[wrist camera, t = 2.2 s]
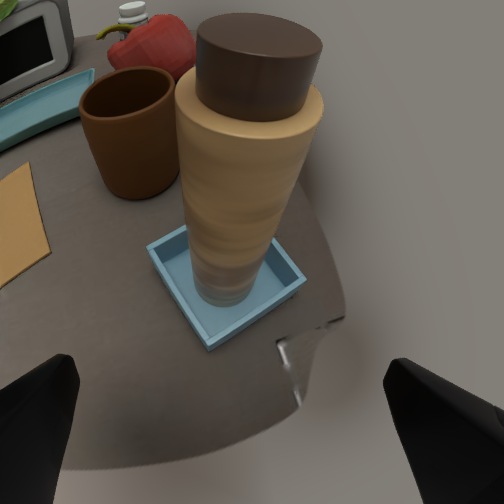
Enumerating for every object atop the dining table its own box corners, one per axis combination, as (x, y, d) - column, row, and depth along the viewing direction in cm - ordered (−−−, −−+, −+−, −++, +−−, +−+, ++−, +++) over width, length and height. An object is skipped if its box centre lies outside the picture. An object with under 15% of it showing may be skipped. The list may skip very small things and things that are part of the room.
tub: (294, 294, 23) (307, 279, 20) (208, 352, 20) (208, 346, 17) (236, 219, 25) (240, 195, 22) (153, 265, 22) (145, 246, 19)
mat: (51, 252, 21) (50, 251, 21) (-9, 295, 18) (-11, 294, 18) (29, 163, 25) (28, 161, 24) (-21, 199, 22) (-23, 198, 22)
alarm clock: (-10, 107, 28) (-39, 37, 14) (4, 77, 32) (-16, 15, 18) (73, 68, 33) (57, -14, 19) (77, 44, 37) (66, -23, 23)
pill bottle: (121, 45, 37) (117, 4, 29) (149, 40, 38) (147, -2, 30) (121, 56, 35) (115, 11, 27) (150, 50, 36) (147, 5, 29)
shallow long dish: (-58, 192, 21) (-67, 182, 19) (-44, 147, 24) (-50, 137, 22) (98, 116, 28) (94, 100, 26) (98, 80, 31) (94, 66, 29)
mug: (216, 129, 29) (223, 52, 21) (236, 183, 26) (249, 100, 18) (104, 151, 26) (82, 77, 18) (105, 211, 23) (70, 134, 15)
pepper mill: (264, 287, 22) (377, 62, 6) (215, 319, 21) (236, 87, 5) (231, 242, 23) (273, 4, 7) (182, 270, 22) (147, 22, 6)
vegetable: (129, 104, 25) (97, 21, 18) (115, 104, 32) (90, 42, 25) (221, 66, 28) (196, -9, 21) (186, 72, 35) (166, 13, 29)
